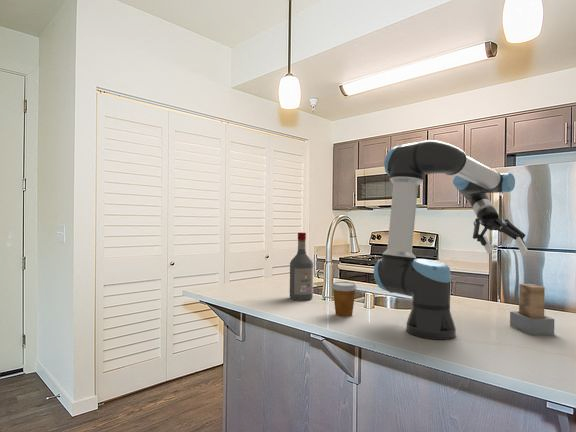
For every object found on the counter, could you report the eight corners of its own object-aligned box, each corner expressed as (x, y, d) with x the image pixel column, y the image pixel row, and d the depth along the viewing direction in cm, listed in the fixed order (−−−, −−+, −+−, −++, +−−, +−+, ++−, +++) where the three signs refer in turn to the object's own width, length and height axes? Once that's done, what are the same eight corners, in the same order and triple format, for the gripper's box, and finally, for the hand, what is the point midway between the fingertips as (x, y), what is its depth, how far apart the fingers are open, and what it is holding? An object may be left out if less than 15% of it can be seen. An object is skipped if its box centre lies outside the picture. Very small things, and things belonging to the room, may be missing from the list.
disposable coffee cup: (361, 314, 144) (361, 283, 144) (347, 319, 137) (347, 286, 137) (340, 310, 151) (341, 280, 151) (326, 314, 144) (326, 283, 144)
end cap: (509, 325, 132) (510, 311, 132) (532, 325, 133) (533, 311, 133) (529, 334, 122) (529, 319, 122) (554, 334, 123) (554, 319, 123)
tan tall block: (518, 324, 130) (519, 283, 130) (531, 324, 131) (531, 284, 131) (530, 329, 124) (531, 287, 124) (544, 329, 125) (544, 287, 125)
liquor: (314, 300, 169) (315, 233, 168) (295, 301, 165) (296, 233, 165) (305, 295, 177) (306, 232, 177) (287, 297, 173) (288, 232, 173)
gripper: (510, 219, 161) (534, 258, 146) (453, 218, 160) (471, 257, 145) (518, 206, 156) (544, 245, 140) (460, 205, 154) (479, 244, 139)
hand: (507, 251), depth 142 cm, fingers open, 13 cm apart
